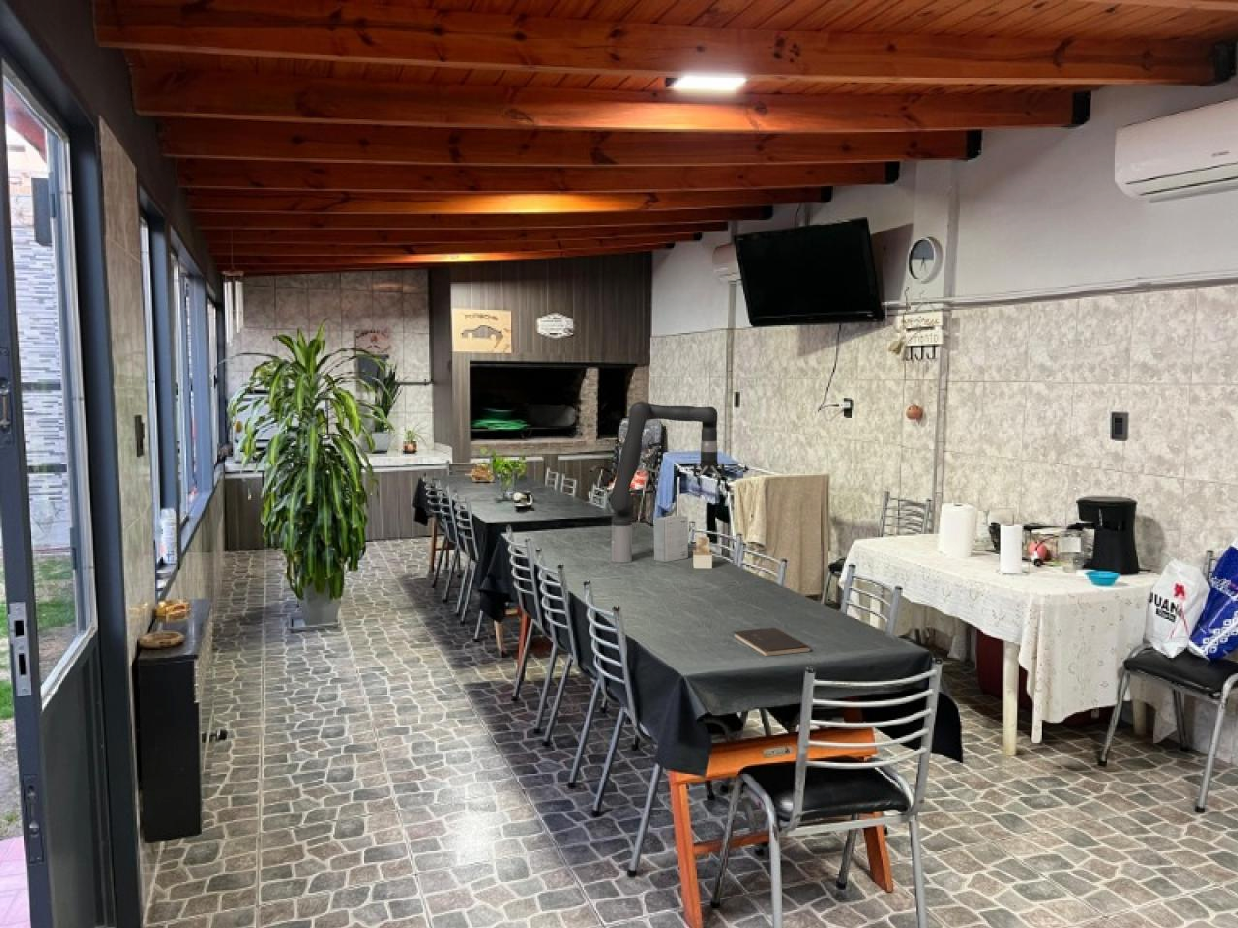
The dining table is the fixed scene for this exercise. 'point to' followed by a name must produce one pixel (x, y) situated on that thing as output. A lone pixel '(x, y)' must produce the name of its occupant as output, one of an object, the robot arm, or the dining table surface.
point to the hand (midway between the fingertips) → (708, 486)
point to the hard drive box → (670, 538)
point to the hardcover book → (771, 641)
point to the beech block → (702, 544)
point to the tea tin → (702, 559)
